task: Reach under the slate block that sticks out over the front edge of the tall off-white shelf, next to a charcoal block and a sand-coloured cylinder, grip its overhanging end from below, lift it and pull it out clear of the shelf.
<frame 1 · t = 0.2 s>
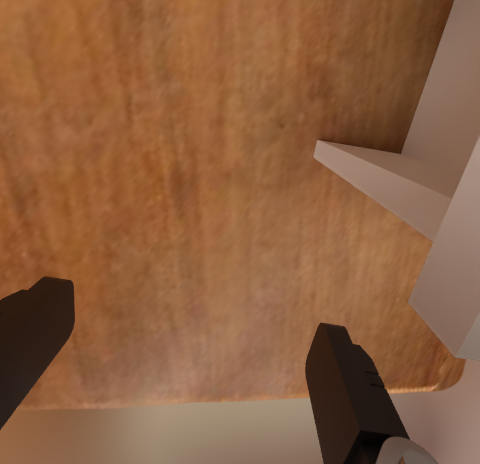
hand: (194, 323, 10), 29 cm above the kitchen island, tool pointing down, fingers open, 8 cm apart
shelf stand: (373, 68, 33), on the kitchen island
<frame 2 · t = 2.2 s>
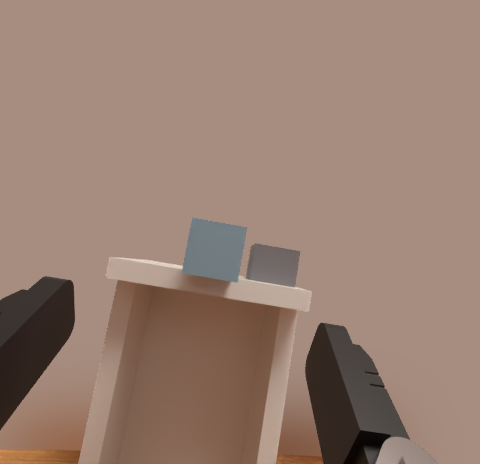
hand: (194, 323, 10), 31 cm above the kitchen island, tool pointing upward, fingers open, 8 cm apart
charcoal block: (268, 282, 36), point 32 cm above the kitchen island, touching shelf stand
slate block: (212, 273, 33), point 32 cm above the kitchen island, touching shelf stand
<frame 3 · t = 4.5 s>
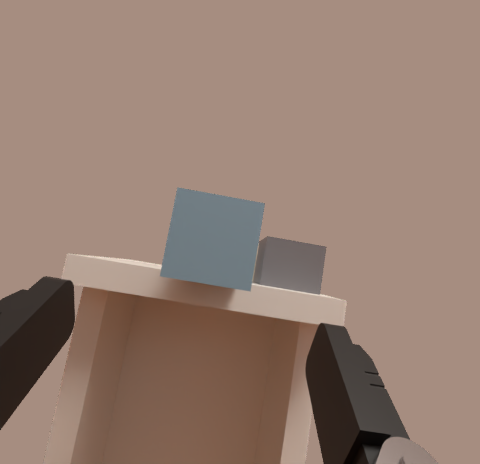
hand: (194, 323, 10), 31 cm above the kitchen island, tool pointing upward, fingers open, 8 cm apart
charcoal block: (283, 287, 28), point 32 cm above the kitchen island, touching shelf stand
slate block: (210, 276, 24), point 32 cm above the kitchen island, touching shelf stand
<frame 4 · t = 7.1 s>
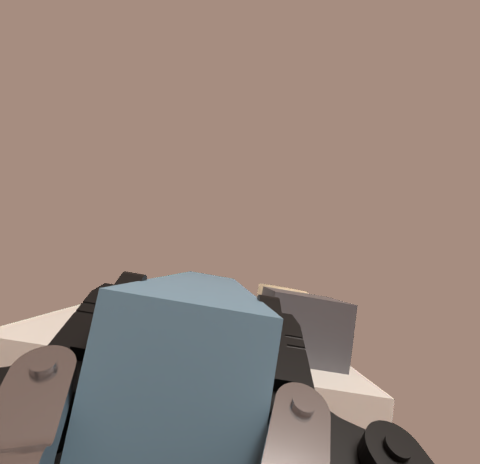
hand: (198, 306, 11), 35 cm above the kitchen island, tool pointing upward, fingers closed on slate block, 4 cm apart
charcoal block: (296, 355, 20), point 32 cm above the kitchen island, touching shelf stand
slate block: (195, 352, 17), point 32 cm above the kitchen island, touching gripper, shelf stand
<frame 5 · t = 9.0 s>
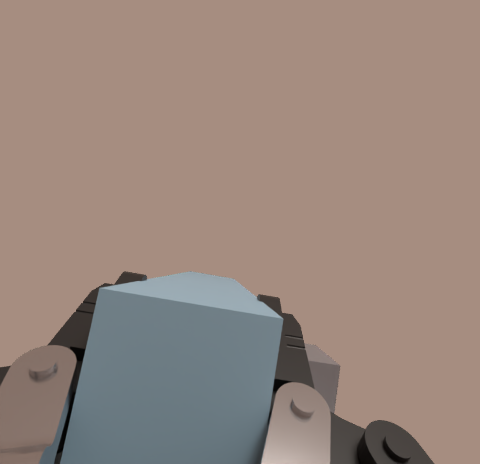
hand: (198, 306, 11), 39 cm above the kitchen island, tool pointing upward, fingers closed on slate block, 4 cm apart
charcoal block: (283, 408, 21), point 32 cm above the kitchen island, touching shelf stand
slate block: (195, 352, 17), point 36 cm above the kitchen island, touching gripper
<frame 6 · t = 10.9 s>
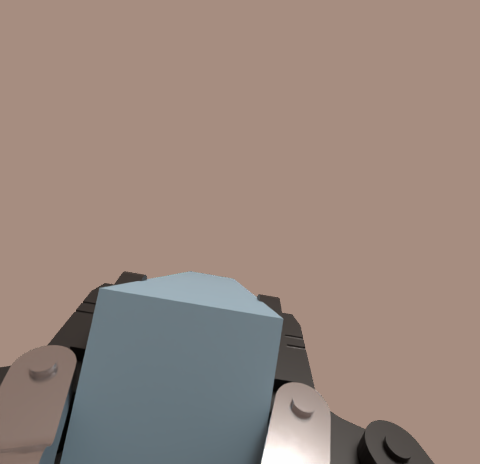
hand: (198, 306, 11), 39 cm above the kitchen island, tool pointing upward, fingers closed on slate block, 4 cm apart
slate block: (195, 352, 17), point 36 cm above the kitchen island, touching gripper
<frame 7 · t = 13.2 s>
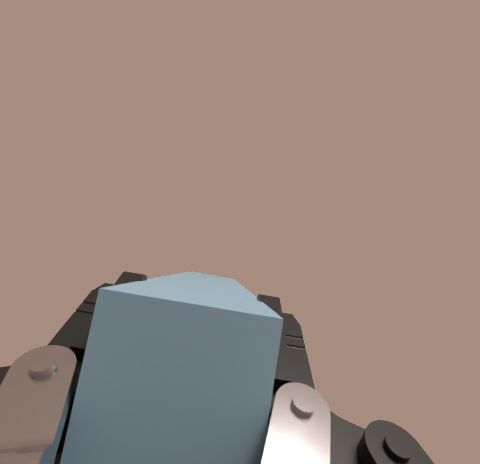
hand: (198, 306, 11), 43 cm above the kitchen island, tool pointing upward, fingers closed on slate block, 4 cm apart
slate block: (195, 352, 17), point 40 cm above the kitchen island, touching gripper
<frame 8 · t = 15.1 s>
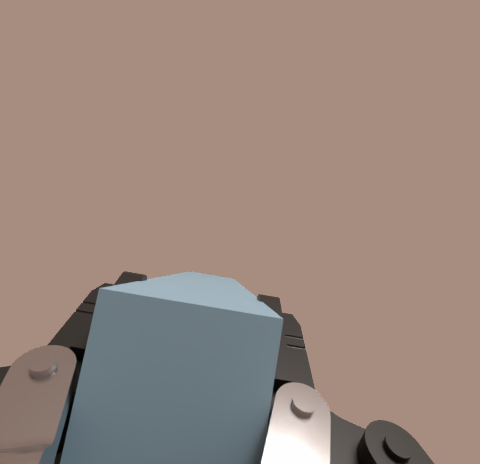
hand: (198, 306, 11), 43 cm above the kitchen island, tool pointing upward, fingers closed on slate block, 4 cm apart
slate block: (195, 352, 17), point 40 cm above the kitchen island, touching gripper
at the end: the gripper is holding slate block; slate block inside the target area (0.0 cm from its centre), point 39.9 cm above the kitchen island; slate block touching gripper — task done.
